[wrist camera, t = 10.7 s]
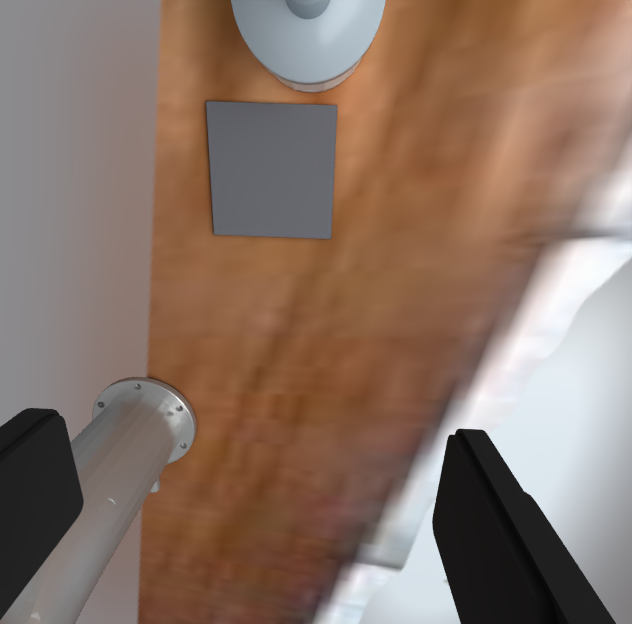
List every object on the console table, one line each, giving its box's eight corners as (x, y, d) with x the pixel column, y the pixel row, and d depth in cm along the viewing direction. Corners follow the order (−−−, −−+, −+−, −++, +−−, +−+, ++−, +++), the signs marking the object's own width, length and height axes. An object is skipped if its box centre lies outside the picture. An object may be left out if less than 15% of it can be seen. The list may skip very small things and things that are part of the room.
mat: (330, 238, 37) (330, 238, 36) (215, 233, 37) (214, 234, 37) (337, 106, 33) (337, 105, 32) (207, 102, 33) (206, 101, 33)
